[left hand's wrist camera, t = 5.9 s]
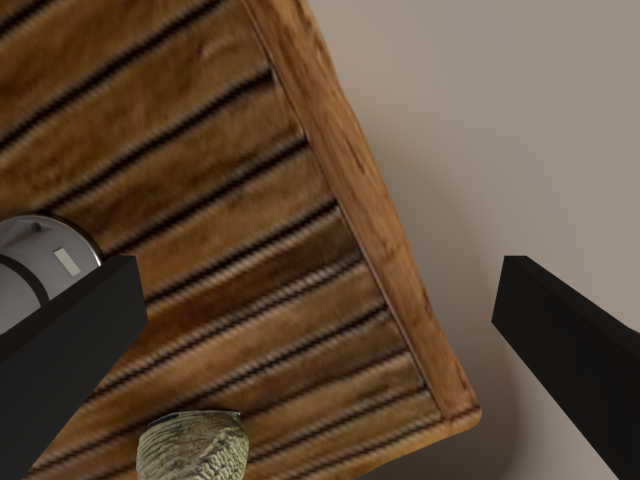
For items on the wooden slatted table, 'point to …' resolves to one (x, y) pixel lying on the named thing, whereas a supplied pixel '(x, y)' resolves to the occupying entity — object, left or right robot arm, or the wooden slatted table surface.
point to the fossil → (193, 447)
